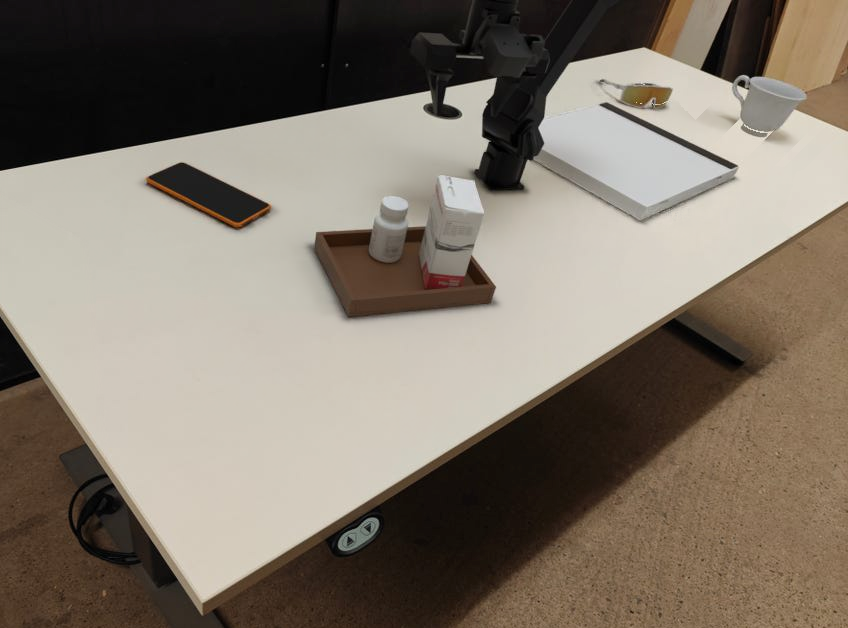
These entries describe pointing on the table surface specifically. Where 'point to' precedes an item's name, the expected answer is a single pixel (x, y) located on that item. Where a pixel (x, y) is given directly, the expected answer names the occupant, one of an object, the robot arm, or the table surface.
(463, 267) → the ink box
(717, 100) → the table surface
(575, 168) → the white flat slab
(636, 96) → the sunglasses
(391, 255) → the pill bottle
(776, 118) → the teacup
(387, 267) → the tray
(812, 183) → the table surface
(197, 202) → the smartphone
